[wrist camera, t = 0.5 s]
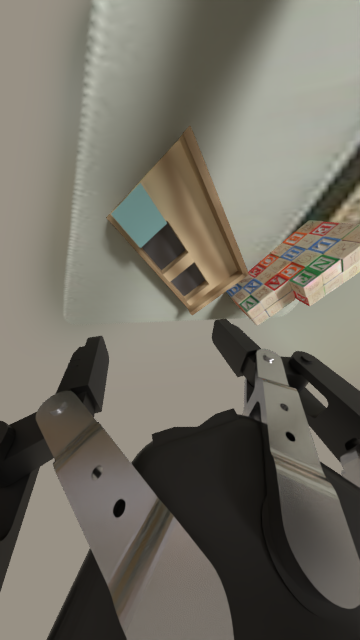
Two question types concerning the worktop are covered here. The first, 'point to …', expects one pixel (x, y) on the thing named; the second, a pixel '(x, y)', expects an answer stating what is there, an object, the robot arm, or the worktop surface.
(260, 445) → the robot arm
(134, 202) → the block
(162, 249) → the board
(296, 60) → the worktop surface
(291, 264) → the stack of blocks
